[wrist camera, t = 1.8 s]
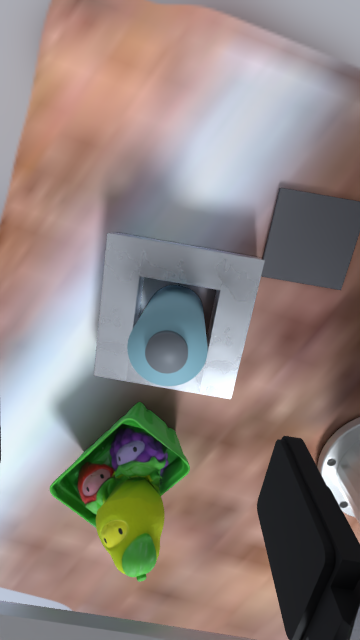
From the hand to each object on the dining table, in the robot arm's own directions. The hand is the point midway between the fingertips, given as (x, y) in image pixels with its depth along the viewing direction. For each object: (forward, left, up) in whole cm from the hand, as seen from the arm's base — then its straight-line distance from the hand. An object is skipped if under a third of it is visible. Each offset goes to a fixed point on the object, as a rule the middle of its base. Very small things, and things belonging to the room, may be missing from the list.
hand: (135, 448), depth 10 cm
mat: (-10, -8, -18) cm, 22 cm away
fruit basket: (+2, +15, -19) cm, 24 cm away
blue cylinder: (0, 0, -18) cm, 18 cm away
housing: (0, 0, -18) cm, 18 cm away
